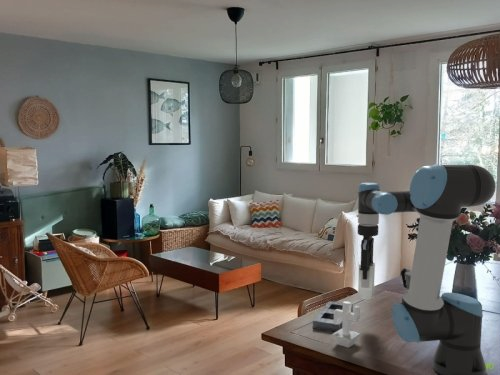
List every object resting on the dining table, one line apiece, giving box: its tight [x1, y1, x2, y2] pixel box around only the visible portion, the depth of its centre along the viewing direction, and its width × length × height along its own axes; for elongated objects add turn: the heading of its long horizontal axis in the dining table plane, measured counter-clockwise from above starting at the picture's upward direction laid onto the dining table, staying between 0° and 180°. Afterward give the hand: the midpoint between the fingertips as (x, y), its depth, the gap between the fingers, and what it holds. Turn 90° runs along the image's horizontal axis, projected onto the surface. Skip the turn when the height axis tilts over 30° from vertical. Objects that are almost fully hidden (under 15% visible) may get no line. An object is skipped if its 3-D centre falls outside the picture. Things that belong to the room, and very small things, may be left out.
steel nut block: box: [357, 262, 376, 301], centre depth 187 cm, size 5×5×13 cm
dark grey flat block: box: [312, 300, 354, 333], centre depth 195 cm, size 24×10×3 cm, turn 157°
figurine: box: [331, 301, 361, 349], centre depth 171 cm, size 7×9×15 cm
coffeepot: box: [400, 267, 412, 290], centre depth 207 cm, size 15×9×18 cm, turn 26°
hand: (366, 285), depth 187 cm, fingers closed on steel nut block, 5 cm apart
